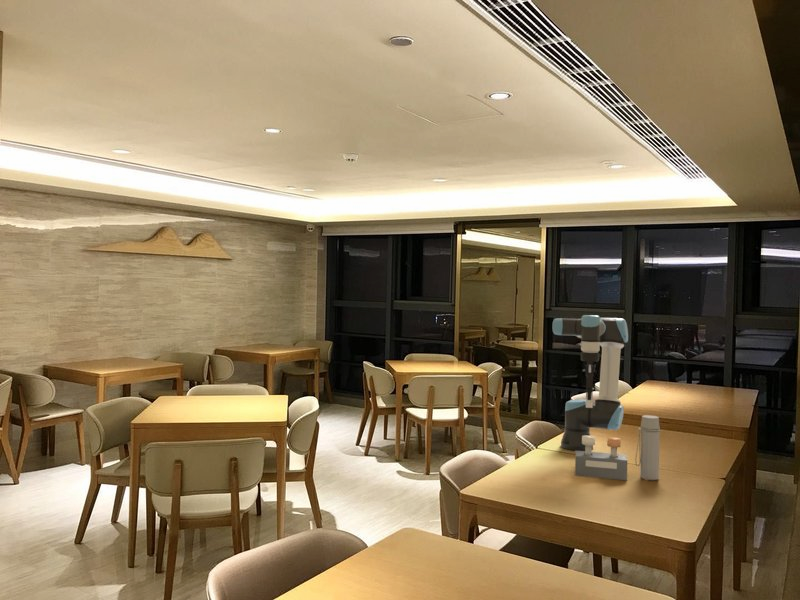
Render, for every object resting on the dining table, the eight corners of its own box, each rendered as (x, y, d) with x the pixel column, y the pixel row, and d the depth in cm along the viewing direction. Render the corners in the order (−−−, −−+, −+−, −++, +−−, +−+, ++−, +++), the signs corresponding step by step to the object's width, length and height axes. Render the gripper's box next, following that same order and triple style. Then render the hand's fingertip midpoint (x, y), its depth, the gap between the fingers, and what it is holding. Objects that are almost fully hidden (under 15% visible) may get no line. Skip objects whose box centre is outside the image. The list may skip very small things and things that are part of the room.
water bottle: (655, 476, 263) (657, 415, 263) (661, 481, 255) (662, 418, 255) (632, 475, 264) (633, 414, 263) (637, 480, 256) (639, 418, 256)
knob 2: (606, 463, 265) (607, 436, 265) (619, 464, 264) (620, 437, 264) (607, 466, 260) (607, 439, 260) (620, 467, 259) (621, 440, 259)
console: (575, 469, 271) (575, 450, 271) (625, 473, 265) (625, 454, 265) (575, 475, 261) (575, 456, 261) (627, 480, 255) (627, 460, 255)
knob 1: (581, 461, 268) (582, 435, 268) (594, 462, 266) (595, 435, 266) (581, 464, 263) (581, 437, 263) (594, 465, 261) (595, 438, 261)
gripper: (580, 349, 281) (580, 402, 281) (580, 353, 263) (579, 409, 263) (598, 350, 279) (597, 403, 279) (599, 353, 261) (598, 410, 261)
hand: (589, 406), depth 271 cm, fingers open, 5 cm apart
